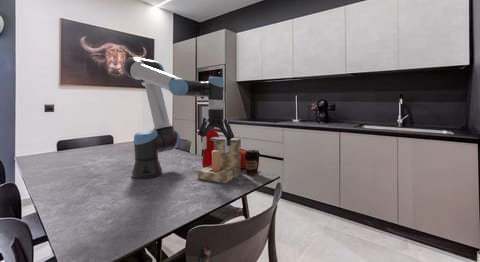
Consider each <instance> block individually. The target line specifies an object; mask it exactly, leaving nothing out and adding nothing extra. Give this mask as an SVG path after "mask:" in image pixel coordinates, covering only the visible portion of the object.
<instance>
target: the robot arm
mask: <svg viewBox="0 0 480 262" xmlns="http://www.w3.org/2000/svg"><path fill="white" fill-rule="evenodd" d="M123 71H124V73H125V75H126V76H128V77H129V78H131V79H134V80H139V81H140V83H141V85H142V86H143V87H145V93H146V95H147V101H148V104H149V109H150V112H151V113H150V114H151V117H152V122H153V129H146V130H140V131H138V132H136V133H135V134H134V136H133V147H134V149H133V150H134V164H133V168H132V171H131V177H132V178H134V179H144V180H145V179H151V178H156V177H158V176H161V175H162V174H163V169H162V166H161V163H160V161H159V153H160V154H161V153H163V152H169V151H172V150H175V149H176V148H177V147H178V146H179V144H180V142H181V135H180V133H179V132H178V131H177V130H175V128H174V125H172V124H171V123H170V119H169V115H168V111H167V107H166V106H167V105H166V102H165V99H164V95H163V94H164V93H163V90H162V89H164V90H167V91H169V92H170V93H171V94H172V95H174V96H178V97H197V98H198V97H208V98H207V99H208V100H207V101H208V103H207V108H209V109H208V110H207V112H208V113H207V114H208V115H207V117H203V118H202V122H201V126H200V128H199V129H198V132H197V135H198V136H200V142H201V144H202V145H201V149H202V150H203V151H204V149H206V136H205V135H206V134H207V133H208V131H209V130H210V129H211V127H214V128H215V129H216V128H218V129H219V130H220V132H222V134H223V135H224V138H226V139H225V153H227V152H229V146H230V145H231V139H232V138H234V139H235V135H234V133H233V130H232V127H231V125H230V120H229V119H228V118H225V119H224V91H225V90H224V89H225V85H224V83H225V82H224V78H223V77H220V76H209V77H208V80H207V81H199V80H191V79H190V80H189V79H185V78H181V77H178V76H176V75H173V74H170V73H168V72H165V69H164V67H163V65H162V64H161V63H160V62H159V61H156V60H154V59H146V58H142V57H138V56H132V57H129V58H127V59H126V60H125V62H124V63H123Z"/></svg>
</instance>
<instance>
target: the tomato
mask: <svg viewBox="0 0 480 262" xmlns="http://www.w3.org/2000/svg"><path fill="white" fill-rule="evenodd" d="M246 151H247V150H245V149H242V150H241V169H246V167H245V153H246Z"/></svg>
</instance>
